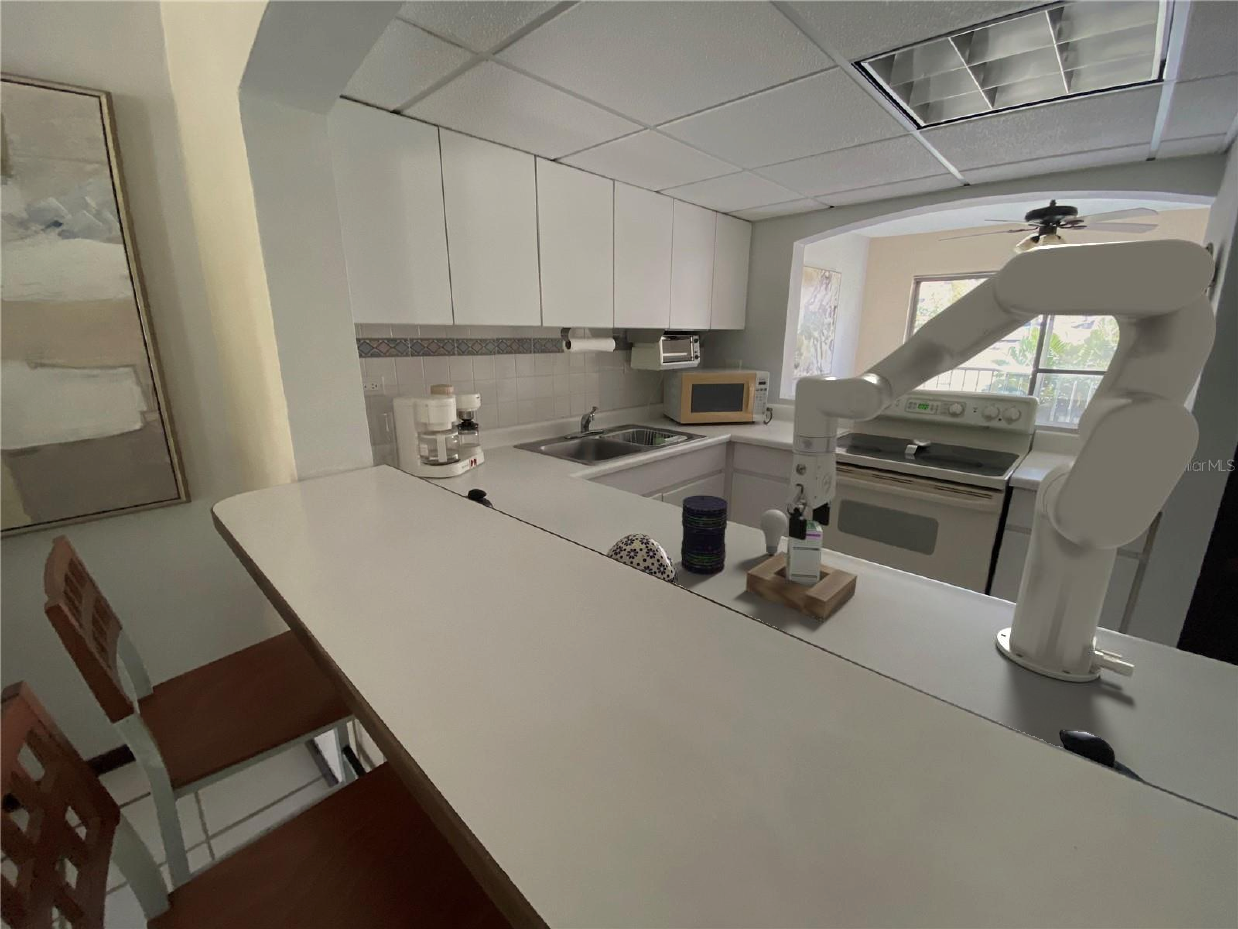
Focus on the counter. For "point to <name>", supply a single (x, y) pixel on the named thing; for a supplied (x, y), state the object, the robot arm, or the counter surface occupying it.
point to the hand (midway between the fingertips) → (809, 530)
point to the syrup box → (805, 556)
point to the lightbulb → (773, 529)
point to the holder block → (801, 587)
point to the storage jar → (704, 534)
